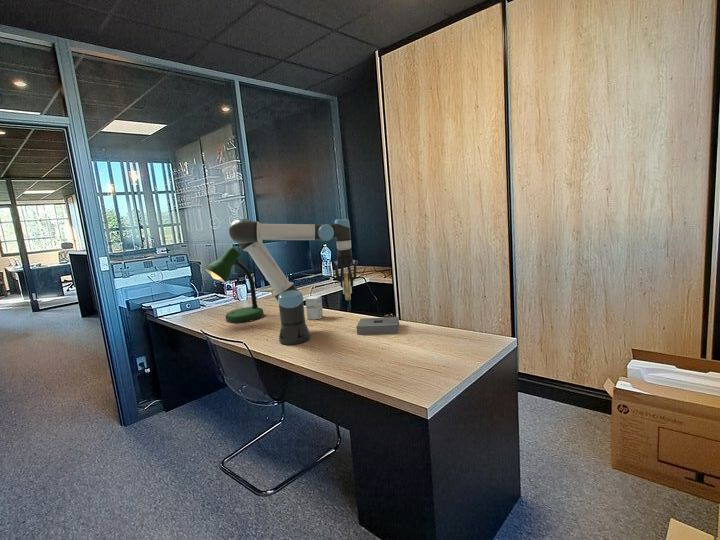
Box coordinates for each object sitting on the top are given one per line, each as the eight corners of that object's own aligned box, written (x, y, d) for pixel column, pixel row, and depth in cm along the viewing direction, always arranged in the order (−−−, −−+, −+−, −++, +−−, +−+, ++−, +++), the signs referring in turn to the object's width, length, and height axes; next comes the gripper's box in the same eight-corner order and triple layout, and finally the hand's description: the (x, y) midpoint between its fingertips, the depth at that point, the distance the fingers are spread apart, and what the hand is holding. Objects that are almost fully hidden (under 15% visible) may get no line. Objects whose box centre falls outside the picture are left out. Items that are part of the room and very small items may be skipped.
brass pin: (350, 300, 197) (348, 273, 195) (344, 300, 197) (342, 274, 195) (351, 298, 199) (349, 272, 197) (345, 298, 200) (343, 273, 198)
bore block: (398, 333, 180) (397, 325, 179) (357, 334, 183) (356, 326, 182) (399, 324, 193) (398, 317, 193) (361, 325, 196) (360, 318, 196)
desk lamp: (221, 328, 213) (210, 250, 206) (207, 322, 230) (196, 249, 223) (270, 316, 233) (261, 244, 226) (253, 311, 250) (245, 244, 243)
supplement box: (306, 319, 217) (304, 298, 215) (312, 316, 224) (310, 295, 222) (318, 319, 215) (316, 298, 213) (323, 316, 222) (321, 295, 220)
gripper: (360, 247, 197) (363, 291, 200) (330, 249, 199) (334, 292, 203) (358, 248, 190) (361, 294, 193) (327, 250, 192) (331, 295, 195)
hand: (347, 293), depth 198 cm, fingers closed on brass pin, 3 cm apart
